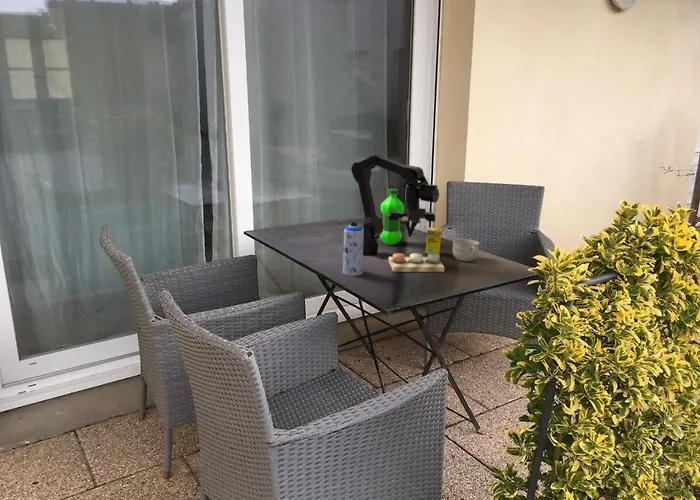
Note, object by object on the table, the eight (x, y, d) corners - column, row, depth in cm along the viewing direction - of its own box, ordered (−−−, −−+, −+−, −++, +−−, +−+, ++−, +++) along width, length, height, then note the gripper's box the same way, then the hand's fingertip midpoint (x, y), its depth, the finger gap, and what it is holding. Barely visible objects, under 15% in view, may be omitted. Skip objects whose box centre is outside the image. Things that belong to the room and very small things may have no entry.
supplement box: (439, 256, 257) (441, 231, 254) (425, 255, 258) (426, 230, 255) (440, 252, 262) (441, 228, 260) (426, 251, 264) (427, 227, 261)
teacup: (449, 255, 258) (450, 237, 256) (473, 255, 259) (475, 237, 257) (457, 265, 244) (459, 246, 242) (483, 265, 245) (485, 246, 243)
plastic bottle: (376, 244, 272) (378, 190, 266) (384, 239, 282) (386, 186, 275) (397, 247, 269) (400, 192, 262) (404, 242, 278) (407, 188, 272)
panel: (393, 271, 234) (393, 266, 233) (388, 261, 247) (388, 256, 246) (444, 271, 235) (444, 266, 235) (436, 261, 249) (437, 256, 248)
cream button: (411, 262, 238) (411, 256, 237) (408, 258, 243) (409, 253, 242) (423, 262, 238) (423, 256, 238) (420, 258, 243) (421, 253, 242)
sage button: (428, 262, 238) (428, 256, 238) (426, 258, 243) (426, 253, 242) (440, 262, 239) (440, 256, 238) (437, 259, 243) (438, 253, 243)
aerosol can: (339, 270, 233) (340, 220, 228) (358, 268, 236) (359, 219, 231) (346, 276, 226) (348, 224, 221) (365, 274, 229) (367, 223, 224)
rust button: (393, 262, 237) (393, 256, 237) (391, 258, 242) (392, 253, 241) (405, 262, 238) (405, 256, 237) (403, 258, 242) (403, 253, 242)
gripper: (391, 202, 232) (389, 241, 236) (439, 203, 233) (436, 242, 237) (388, 196, 243) (386, 233, 247) (434, 198, 244) (430, 235, 248)
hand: (409, 236), depth 245 cm, fingers closed
